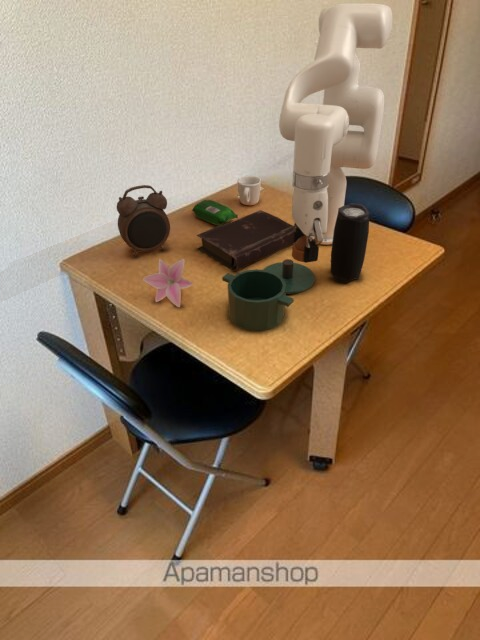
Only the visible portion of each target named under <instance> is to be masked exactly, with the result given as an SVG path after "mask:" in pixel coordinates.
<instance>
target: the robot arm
mask: <svg viewBox="0 0 480 640" xmlns="http://www.w3.org/2000/svg"><path fill="white" fill-rule="evenodd" d="M393 19H394V18H393V11H392V8H391V7H390V6H389V5H386V4H382V3H363V2H361V3H357V2H344V3H337V4H334V5H329V6H327V7H325V8H323V9H322V10H321V11H320V13H319V17H318V32H319V33H318V34H319V35H318V40H317V44H316V50H315V54H314V59H313V60H312V62H310V63H309V64H308V65H306V66H305V67H304V68H302V69H301V70H300V71H299V72H298V73H297V74H296V75H295V76H294V78H292V79H291V81H290V83H289V84H288V86H287V88H286V90H285V93H284V96H283V97H284V98H283V101H282V105H281V109H280V114H279V120H278V129H279V133H280V136H282V138H283V139H285V140H287V141H290V142H294V149H293V166H292V184H291V185H292V187H293V194H292V202H291V203H292V204H291V217H292V220H293V222H294V225H293V226H294V231H296V232H294V241H293V244H294V243H295V242H296V241H297V240H298V239H299V238H300V237H302V236H306V246H304V259H303V261H304V262H303V263H306V264H307V263H313V262H317V261H318V258H319V252H318V250H320V246H321V245H324V246H325V245H328V246H329V245H332V242H333V234H334V227H335V223H336V219H337V215H338V208H340V207H342V206H345V202H346V201H345V200H346V194H347V193H346V191H347V177H346V174H345V172H344V171H343V169H342V168H348V169H361V170H367V169H371V168H373V166H374V165H375V163H376V161H377V158H378V157H377V156H378V152H379V147H380V140H381V132H382V126H383V121H384V120H383V119H384V115H385V114H384V113H385V103H386V102H385V99H386V98H385V94H384V92H383V90H382V89H380V88H379V87H376V86H366V85H365V86H364V85H359V80H360V79H359V78H360V73H361V72H360V71H361V62H360V59H359V57H358V55H357V53H356V51H357V49H382V48H384V47H385V46H386V44H387V43H388V42H389V39H390V37H391V34H392V30H393V23H394V22H393V21H394V20H393ZM321 91H323V98H322V104H320V103H308V102H307V103H306V102H305V103H304V102H302V101H303V100H305V99H306V98H307V97H309V96H311V95H314V94H315V93H318V92H321ZM349 126H357V127H358V126H360V127H362V129H363V131H361V130H349ZM310 237H312V238H313V240H311V241H310ZM293 244H292V245H293Z"/></svg>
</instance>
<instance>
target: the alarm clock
mask: <svg viewBox="0 0 480 640" xmlns="http://www.w3.org/2000/svg"><path fill="white" fill-rule="evenodd" d="M140 189H151V191H152V192H151V193H149V194H148V196H147V197H146V198H145V196H138V197H137V199H134V198H133V197H131V196H127V195H128V194H129V193H130V192H132V191H136V190H140ZM167 206H168V199H167V198H166V196H164V194H163V191H162V190H159V191H158V192H157V191H156V189H154V188H153V186H152V185H147V184H141V185H137V186H136V185H135V186H131V187H130V188H127V189H126V190H125V191H124V193H123V195H122V196H119V197H118V201H117V202H116V211H117V213H118V218H117V229H118V232H119V235H120V237H121V239H122V240H123V242H124V243H125V244H126V245H127V247H129V248H130V249H131V250H133V251H134V253H133V254H132V256H133V257H134V258H136V257H137V256H136V255H137V253H138V252H139V253H149V252H153V251H155V250H157V249H159V248H160V249H161V250H162V251H165V248H164V247H163V245H164V244H165V243H166V242H167V240H168V238H169V236H170V233H171V222H170V219H169V217H168V215H167V213H166V212H165V210H166V209H167Z"/></svg>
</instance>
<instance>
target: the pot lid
mask: <svg viewBox="0 0 480 640" xmlns="http://www.w3.org/2000/svg"><path fill="white" fill-rule="evenodd" d="M262 270H267V271H270V272H273V273H276V274H278V275H279V276H280V277H281V278H283V279H284V281H285V284H286V295H287V294H288V295H291V294H292V295H293V294H294V295H295V294H299V293H303V292H305V291H307V290H309V289H310V288H312V287H313V285H314V284H315V281H316V277H315V276H316V275H315V273H314V272H313V270H312V269H310V268H309V267H308V266H306V265H303V264H300V263H298V262H294V260H293V259H290V258H289V259H287V258H286V259H284V260H282V261H280V262H275V263H272V264H269V265H267V266H266V267H264V268H263V269H262Z"/></svg>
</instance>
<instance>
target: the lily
mask: <svg viewBox="0 0 480 640" xmlns="http://www.w3.org/2000/svg"><path fill="white" fill-rule="evenodd" d="M185 263H186V262H185V258H181V259H179V260H177V261H176V262H174V263H173V264H171V265H170V266H169V265H168V264H167V263H166V262H165V261H164V260H163V259H161V258H159V259H158V272H154V273H151V274H148V275H145V276H143V278H142V280H143V282H144V283H146V284H147V285H149V286H150V287H153V288H155V289H157V290H156V293H155V298H154V300H155V303H158V302H160V301H161V300H163V299H165V298H166V297H167V299H168V300H169V301H170V302H171V303H172V304H173V305H174V306H176V307H177V308H180V307H181V305H182V304H181V303H182V295H181V290H183V289H187V288H190V287H192V286H194V283H193V282H192V281H190V280H189V279H187V278H186V277H184V276H183V273H184V267H185Z"/></svg>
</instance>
